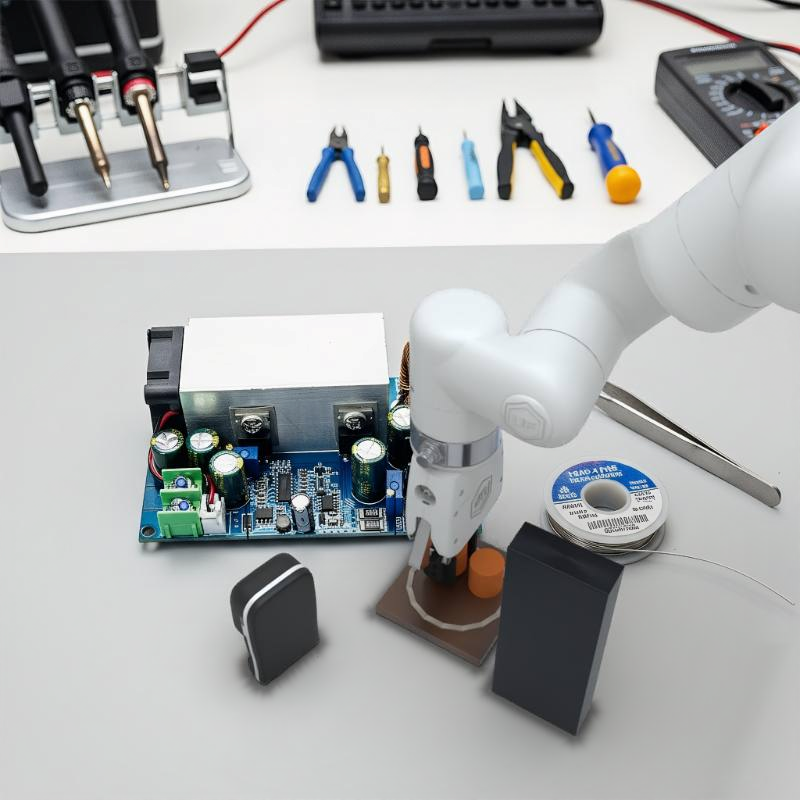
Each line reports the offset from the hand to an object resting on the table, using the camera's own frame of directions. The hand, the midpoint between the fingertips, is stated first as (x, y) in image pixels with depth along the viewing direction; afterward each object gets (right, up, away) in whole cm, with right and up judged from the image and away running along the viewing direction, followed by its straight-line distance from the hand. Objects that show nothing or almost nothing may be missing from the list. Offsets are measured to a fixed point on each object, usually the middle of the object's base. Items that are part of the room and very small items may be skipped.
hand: (450, 563), depth 94 cm
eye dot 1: (0, 0, 0) cm, 0 cm away
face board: (+1, -3, -1) cm, 3 cm away
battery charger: (-16, -7, -5) cm, 18 cm away
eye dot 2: (+3, -2, -1) cm, 4 cm away
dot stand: (+7, -10, -9) cm, 15 cm away
